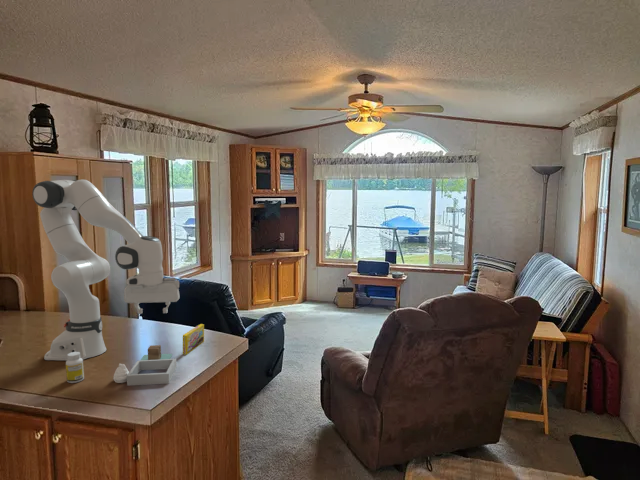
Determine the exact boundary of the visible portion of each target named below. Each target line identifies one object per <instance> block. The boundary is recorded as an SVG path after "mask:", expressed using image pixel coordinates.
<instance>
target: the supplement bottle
mask: <svg viewBox="0 0 640 480" xmlns="http://www.w3.org/2000/svg"><path fill="white" fill-rule="evenodd" d="M67 358H68V360H65V372H66V381H67V383H70V384H75V383H76V384H77V383H80V382H82V381H83V380H84V379H85V370H84V368H85V367H84V360H83V359H82V358H80V352H72V353H69V354H67Z"/></svg>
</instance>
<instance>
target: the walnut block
mask: <svg viewBox="0 0 640 480" xmlns="http://www.w3.org/2000/svg"><path fill="white" fill-rule="evenodd" d="M161 354H162V345H161V344H158V345H154V344H153V345H149V346H148V348H147V355H148V360H159V359H160V358H161Z"/></svg>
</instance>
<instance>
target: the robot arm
mask: <svg viewBox="0 0 640 480" xmlns="http://www.w3.org/2000/svg"><path fill="white" fill-rule="evenodd" d="M31 192H32V198H33V201H34V202H35V204H36V205H37V206H38V207H41V208H42V209H41V211H40V213H39V216H40V220H41V223H42V226H43V229H44V232H45V234H46V236H47V239H48V240H49V243H50V245H51V246H52V249H53V251H54V252H55V253H56V254H57V255H59V256H61V257H64V258H65V259H66V260H67V261H68V262H64V263H62V264H60V265H57V266H55V267H54V268H53V269H52V272H51V276H50V279H51V282H52V285H53V287H55V288H56V289H58V290H60V291H61V292H62V294H63V295H64V296H65V298H66V301H67V304H68V310H69V311H68V313H69V319H68V320H67V321H65V323H64V324H63V328H65V330H64V331H63V332H62V333H60V334H59V335H57V336H56V337H55V338H54V339H53V340H52V342H51V344H50V350H48V351H47V352H46V353H45V354H44V355H43V356H44V357H43V358H44V360H45V361H67V360H68V358H67V354H69V353H72V352H80V358H82V359H83V361H84V360H86V359H89V358H93V357H96V356H99V355H102V354H103V353H105V352H106V351H107V347H106V344H105V341H104V338H103V337H104V336H103V322H102V317H101V311H100V306H101V305H100V299H99V298H98V297H97V296H96V295H93V294H92V292H91V289H90V285H94V284H97V283H100V282H102V281H103V280H105V279H107V278H108V277H109V276H110V274H111V264H110V263H109V261H108V260H107V259H105V258H104V257H102V256H99V255H98V254H97V253H96V252H94V251H93V250H92V249H91V248H90V247H89V245H88V244H87V243H86V242H85V240H84V238H83V237H82V235H81V233H80V232H79V228H78V227H77V225H76V223H75V221H74V220H73V217H72V211H78V213H79V214H80V215H81V217H82V218H83V220H85V222H87V223H88V224H89V225H91V226H94V227H98V228H103V229H109V230H111V231H113V232H116V233H118V234H119V235H120V236H121V237H122V238H123V239H124V240H125V241H126V242H127V244H124V245H122V246H119V247H118V248H117V250H116V251H115V254H114V255H115V256H114V258H115V262H116V264H117V266H118V267H119V268H120V269H122V270H133V269H138V274H134V275H132V276H129V277H128V278H127V279H126V280H125V284H126V285H125V287H124V292H123V293H124V294H123V302H125V303H126V304H133V305H134V307H135V309H136V310H137V315H142V314H143V310H144V309H143V308H141V307H140V305H139V304H141V303H143V304H144V303H145V304H147V303H165V305H166V306H165V307H163V308H162V314H167V313H168V309H169V306H170V305H171V303H177V302H178V301H179V299H180V298H181V297H180V291H179V290H180V289H179V288H180V281H179V280H178V279H177V278H176V277H172V278H171V277H170V278H169V277H164V268H163V259H164V258H163V257H164V256H163V245H162V242H161V240H160V238H158V237H156V236H151V235H143V234H142V233H141V232H140V231H139V230H138V229H137V227H136V226H135V225H134V224H133V223H132V222H131V221H130V220H129V219H128V218H127V217H126V216H125V215H124V214H123V213H121V212H120V211H119V210H118V209H116V208H115V207H114V206H113V205H112V204H111V203H110V202H109V201H108V199H107V197H105V196H104V194H103V193H102V192H101V191H100V190H99V189H98V188H97V187H96V186H95V185H94V184H93V183H92V182H91V181H89V180H87V179H77V180H76V179H72V180H71V179H56V180H44V181H41V182H38V183H36V184H35V185H34V186H33V188H32V191H31Z"/></svg>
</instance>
